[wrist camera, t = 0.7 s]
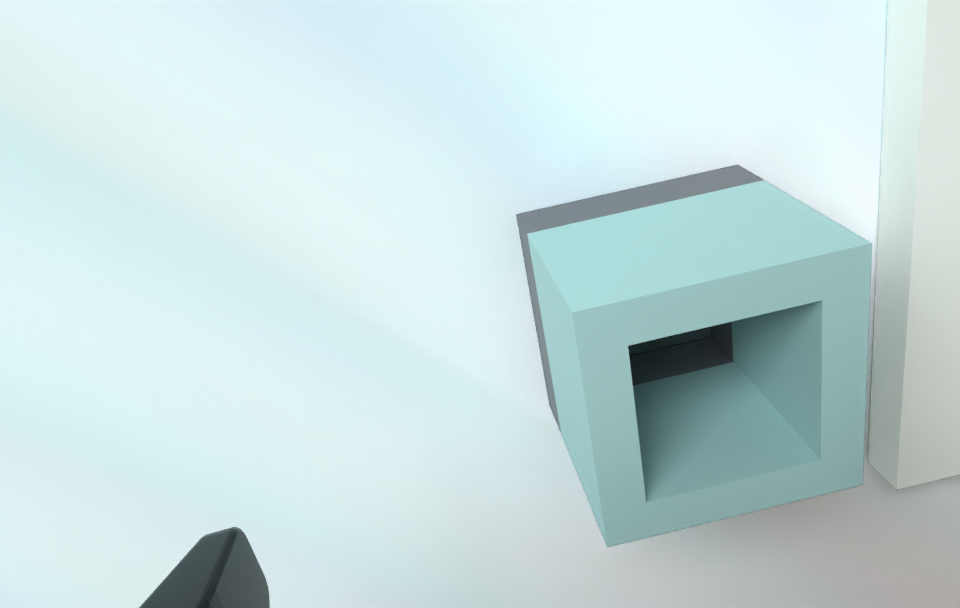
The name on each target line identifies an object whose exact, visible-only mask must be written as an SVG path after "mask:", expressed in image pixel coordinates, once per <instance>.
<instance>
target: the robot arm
mask: <svg viewBox="0 0 960 608" xmlns="http://www.w3.org/2000/svg"><path fill="white" fill-rule="evenodd" d="M139 608H270V606H269V590H268V585H267V582H266V578H265V576H264V574H263V571H262V569H261V567H260V565H259V563H258V561H257V559H256V556H255V554H254V552H253V550H252V548H251V546H250V543H249V541H248V539H247V537H246V535H245V534H244V532H243V531H242V530H241V529H239V528H237V527H232V528H228V529H225V530H221V531H218V532H214V533H210V534H207V535H205V536H203V537H202V538H201V539H200V540H199V541H198V542H197V543H196V545H195V546H194V547H193V548H192V549H191V550H190V551H189V552H188V554H187V555H186V556H185V557H184V558H183V559H182V560H181V561H180V563H179V564H178V565H177V566H176V567H175V568H174V569H173V570H172V571H171V573H170V574H169V575H168V576H167V577H166V578H165V579H164V580H163V582H162V583H161V584H160V585H159V586H158V587H157V588H156V589H155V591H154V592H153V593H152V594H151V595H150V596H149V597H148V598H147V600H146V601H145V602H144V603H143V604H142V605H141V606H140V607H139Z"/></svg>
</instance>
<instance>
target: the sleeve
mask: <svg viewBox="0 0 960 608" xmlns="http://www.w3.org/2000/svg"><path fill="white" fill-rule="evenodd" d="M516 216H517V222H518V227H519V233H520V239H521V244H522V250H523V256H524V262H525V267H526V273H527V279H528V285H529V290H530V296H531V302H532V307H533V313H534V319H535V325H536V330H537V336H538V342H539V348H540V353H541V359H542V365H543V370H544V376H545V382H546V388H547V393H548V399H549V405H550V407H551V410H552V412H553V415H554V417H555V420H556V422H557V425H558V427H559V430H560V432H561V434H562V437H563V439H564V442H565V444H566V447H567V449H568V452H569V454H570V457H571V459H572V462H573V464H574V467H575V469H576V471H577V474H578V476H579V479H580V481H581V484H582V486H583V489H584V491H585V494H586V496H587V499H588V501H589V503H590V506H591V508H592V511H593V513H594V516H595V518H596V521H597V523H598V526H599V528H600V531H601V533H602V536H603V538H604V540H605V543H606V545H607V547H611V546H616V545H620V544H624V543H628V542H632V541H636V540H640V539H644V538H648V537H652V536H656V535H660V534H664V533H669V532H673V531H677V530H681V529H685V528H689V527H693V526H697V525H701V524H705V523H709V522H713V521H717V520H722V519H726V518H730V517H734V516H738V515H742V514H746V513H750V512H754V511H758V510H762V509H766V508H770V507H775V506H779V505H783V504H787V503H791V502H795V501H799V500H803V499H807V498H811V497H815V496H819V495H823V494H828V493H832V492H836V491H840V490H844V489H848V488H852V487H856V486H860V485H862V484H863V459H864V434H865V409H866V384H867V359H868V334H869V309H870V283H871V258H872V243H871V242H869V241H868V240H866V239H864V238H862V237H861V236H859V235H857V234H856V233H854V232H852V231H850V230H849V229H847V228H845V227H844V226H842V225H840V224H838V223H837V222H835V221H833V220H832V219H830V218H828V217H826V216H825V215H823V214H821V213H820V212H818V211H816V210H814V209H813V208H811V207H809V206H808V205H806V204H804V203H802V202H801V201H799V200H797V199H796V198H794V197H792V196H790V195H789V194H787V193H785V192H784V191H782V190H780V189H778V188H777V187H775V186H773V185H772V184H770V183H768V182H766V181H765V180H763V179H761V178H760V177H758V176H756V175H754V174H753V173H751V172H749V171H748V170H746V169H744V168H742V167H741V166H739V165H734V166H730V167H725V168H721V169H716V170H712V171H707V172H703V173H699V174H694V175H690V176H685V177H681V178H676V179H672V180H667V181H663V182H658V183H654V184H650V185H645V186H641V187H636V188H632V189H627V190H623V191H618V192H614V193H610V194H605V195H601V196H596V197H592V198H587V199H583V200H578V201H574V202H570V203H565V204H561V205H556V206H552V207H547V208H543V209H538V210H534V211H530V212H525V213H521V214H516ZM710 326H711V337H710V338H706V339H701V340H697V341H693V342H689V343H684V344H680V345H676V346H672V347H667V348H663V349H659V350H655V351H650V352H646V353H642V354H637V355H633V356H629V349H628V346H629V345H634V344H638V343H642V342H646V341H651V340H655V339H659V338H663V337H668V336H672V335H676V334H681V333H685V332H689V331H693V330H698V329H702V328H706V327H710Z"/></svg>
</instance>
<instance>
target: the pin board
mask: <svg viewBox="0 0 960 608" xmlns="http://www.w3.org/2000/svg"><path fill="white" fill-rule="evenodd" d="M868 462H869V463H870V464H871V465H872V466H873V467H874V468H875V469H876V470H877V471H878V472H879V473H880V474H881V475H882V476H883V477H884V478H885V479H886V480H887V481H888V482H889V483H890V484H891V485H892V486H893V487H894V488H895V489H896V490H899V489H903V488H907V487H911V486H915V485H919V484H923V483H927V482H931V481H936V480H940V479H944V478H948V477H952V476H956V475H960V0H888V11H887V35H886V58H885V81H884V104H883V127H882V151H881V174H880V197H879V220H878V243H877V267H876V290H875V313H874V336H873V359H872V383H871V406H870V429H869V452H868Z"/></svg>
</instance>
